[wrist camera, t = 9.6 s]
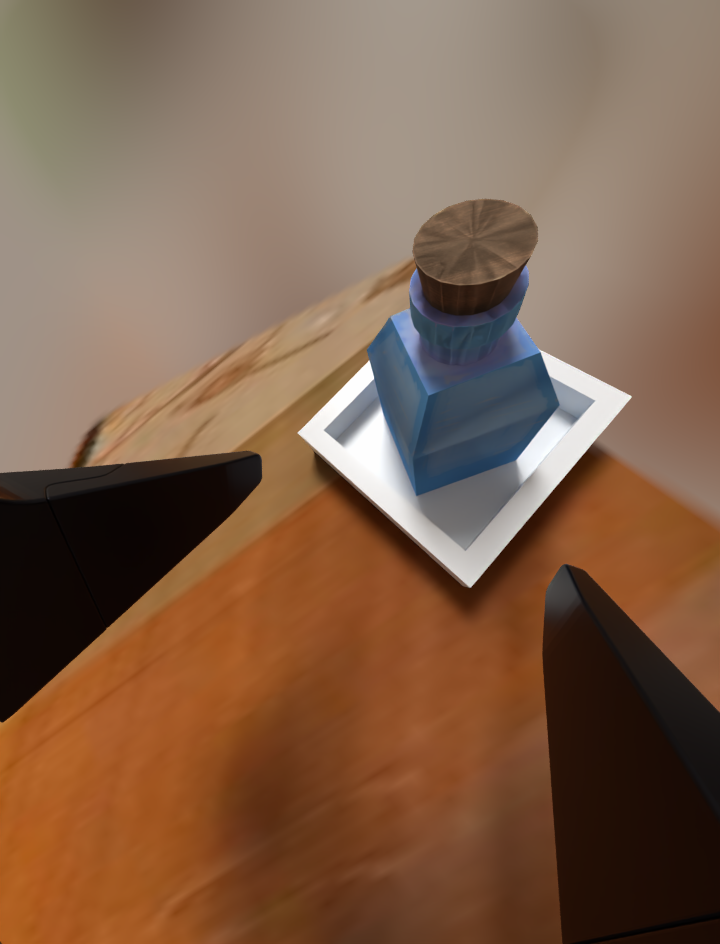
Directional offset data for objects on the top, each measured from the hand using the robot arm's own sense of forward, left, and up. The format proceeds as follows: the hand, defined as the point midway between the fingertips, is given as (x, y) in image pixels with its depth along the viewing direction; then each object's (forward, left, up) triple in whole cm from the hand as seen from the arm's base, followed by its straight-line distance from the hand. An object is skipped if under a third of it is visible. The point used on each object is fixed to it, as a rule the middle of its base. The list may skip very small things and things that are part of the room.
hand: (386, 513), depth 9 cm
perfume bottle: (+3, -7, -10) cm, 12 cm away
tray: (+3, -7, -10) cm, 13 cm away
